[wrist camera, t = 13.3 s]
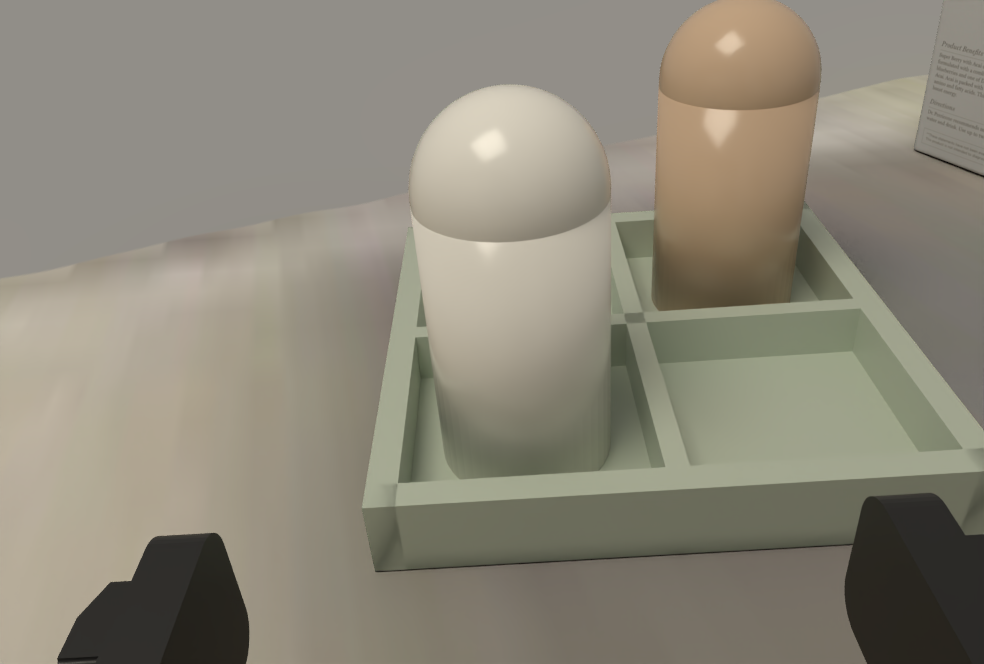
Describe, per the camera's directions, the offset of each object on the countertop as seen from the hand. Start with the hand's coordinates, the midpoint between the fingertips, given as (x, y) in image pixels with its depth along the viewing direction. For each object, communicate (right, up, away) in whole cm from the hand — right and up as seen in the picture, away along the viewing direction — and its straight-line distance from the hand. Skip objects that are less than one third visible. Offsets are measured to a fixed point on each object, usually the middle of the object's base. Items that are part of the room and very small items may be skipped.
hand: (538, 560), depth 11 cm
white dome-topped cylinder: (0, 0, +14) cm, 14 cm away
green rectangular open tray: (+4, +1, +17) cm, 17 cm away
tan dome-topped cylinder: (+8, +4, +20) cm, 21 cm away
